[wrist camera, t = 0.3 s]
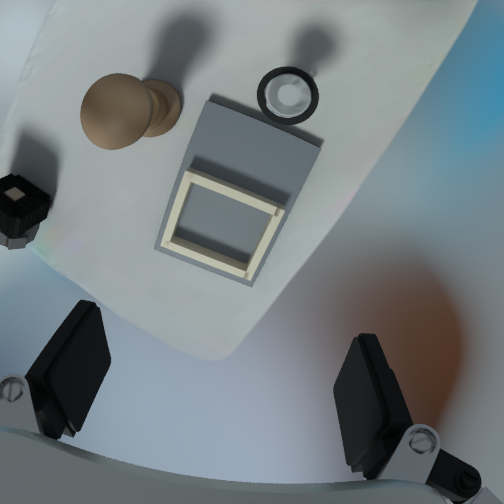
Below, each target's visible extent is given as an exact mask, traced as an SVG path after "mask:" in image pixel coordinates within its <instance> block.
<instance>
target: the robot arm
mask: <svg viewBox="0 0 504 504" xmlns="http://www.w3.org/2000/svg"><path fill="white" fill-rule="evenodd" d="M110 364H111V356H110V352H109V348H108V344H107V340H106V335H105V331H104V326H103V321H102V316H101V311H100V308H99V307H97V306H96V303H95V302H91V301H86V300H80V301H79V302H78V303H77V304H76V306H75V307H74V308H73V310H72V311H71V312H70V313H69V315H68V316H67V317H66V319H65V320H64V321H63V323H62V324H61V326H60V327H59V328H58V329H57V331H56V332H55V333H54V335H53V336H52V338H51V339H50V340H49V342H48V343H47V345H46V346H45V347H44V349H43V350H42V352H41V353H40V355H39V356H38V358H37V359H36V361H35V362H34V363H33V365H32V366H31V368H30V369H29V371H28V372H27V374H26V375H25V377H23V376H21V375H18V374H8V375H6V376H4V377H2V378H1V379H0V504H503V503H502V502H501V501H500V500H499V499H498V498H497V497H496V496H495V495H494V494H493V493H492V492H491V491H490V490H489V489H488V488H487V487H484V488H482V487H481V477H480V474H479V472H478V471H477V470H476V469H475V468H474V467H472V466H471V465H468V464H467V463H465V462H463V461H461V460H459V459H458V458H456V457H454V456H453V455H451V454H449V453H447V452H446V451H444V450H442V449H440V445H441V443H440V438H439V436H438V434H437V433H436V431H435V430H434V429H432V428H431V427H429V426H427V425H424V424H417V425H413V422H412V419H411V416H410V414H409V411H408V408H407V406H406V403H405V400H404V397H403V395H402V392H401V390H400V387H399V384H398V382H397V379H396V377H395V374H394V372H393V370H392V369H390V368H389V365H388V363H387V360H386V358H385V355H384V353H383V350H382V348H381V346H380V344H379V341H378V338H377V336H376V335H375V334H366V333H361V334H359V335H358V337H355V338H354V339H353V341H352V343H351V346H350V348H349V351H348V354H347V356H346V358H345V361H344V363H343V365H342V368H341V370H340V372H339V375H338V377H337V379H336V382H335V384H334V389H333V391H334V392H333V393H334V398H335V403H336V408H337V413H338V419H339V424H340V429H341V435H342V440H343V446H344V452H345V458H346V463H347V465H348V466H351V470H352V473H353V472H362V471H363V476H364V477H365V478H364V480H362V481H349V482H335V483H313V484H312V483H311V484H310V483H309V484H271V483H251V482H237V481H226V480H216V479H208V478H201V477H194V476H188V475H181V474H176V473H171V472H165V471H160V470H155V469H151V468H147V467H142V466H138V465H134V464H130V463H126V462H122V461H119V460H115V459H112V458H108V457H105V456H102V455H98V454H95V453H92V452H89V451H86V450H83V449H80V448H77V447H74V446H71V445H68V444H65V443H63V442H61V441H60V438H61V435H62V434H65V435H68V436H70V437H74V435H75V433H76V431H77V432H79V431H80V430H81V428H82V426H83V423H84V421H85V419H86V417H87V414H88V412H89V410H90V408H91V405H92V403H93V401H94V399H95V397H96V394H97V392H98V390H99V388H100V386H101V384H102V381H103V379H104V377H105V375H106V373H107V371H108V369H109V367H110Z"/></svg>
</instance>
